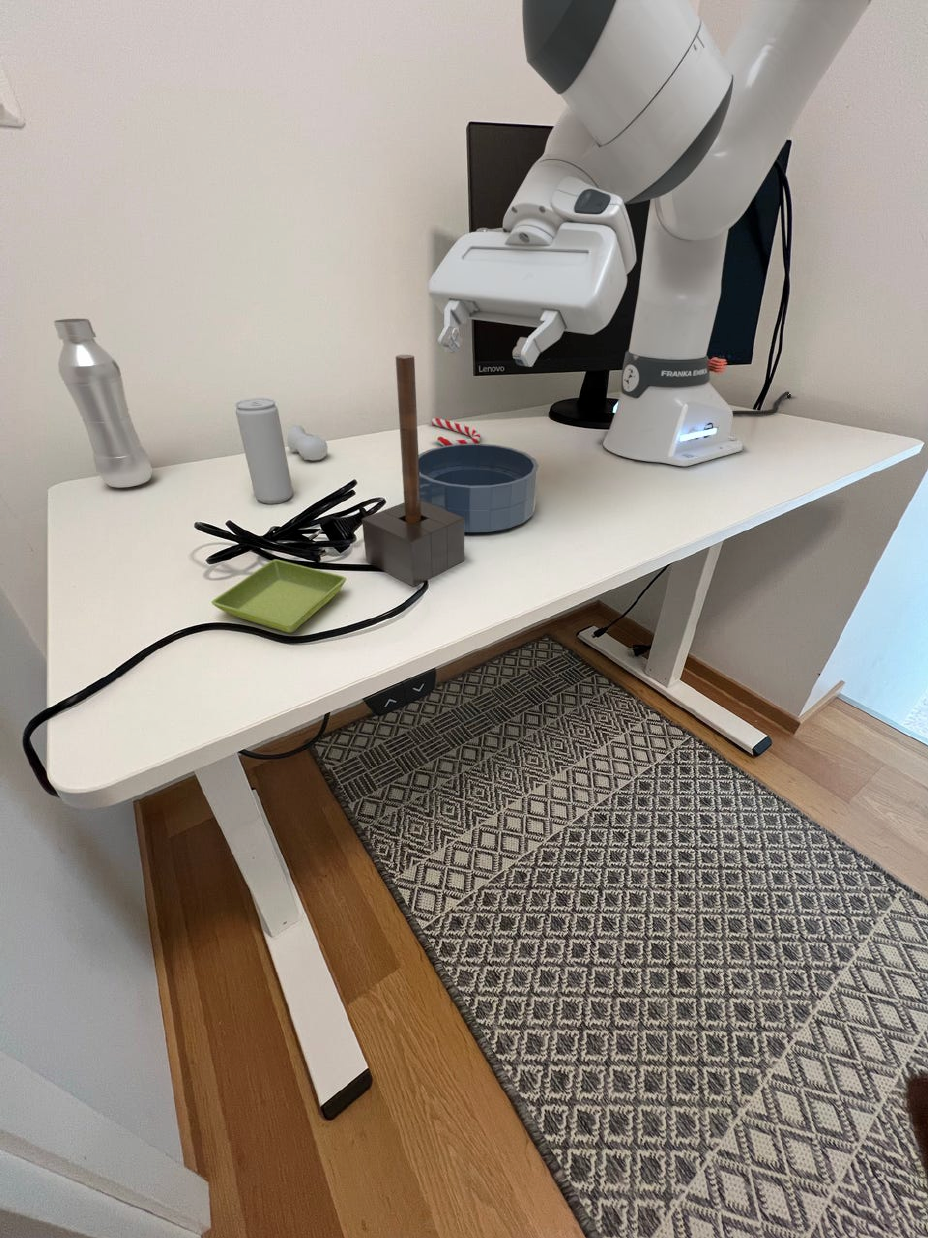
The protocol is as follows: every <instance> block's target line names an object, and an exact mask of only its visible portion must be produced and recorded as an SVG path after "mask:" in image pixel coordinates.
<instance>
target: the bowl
mask: <svg viewBox="0 0 928 1238" xmlns="http://www.w3.org/2000/svg"><path fill="white" fill-rule="evenodd" d="M418 456H419V479H420V500H421V501H424V502H426V503H429V504H431V505H434V506H436V507H439V508H441V509H444V510H446V511H448V512H451V513H453V514H456V515H458V516H461V517H463V518H464V533H489V532H496V531H503V530H508V529H511V528H514V527H516V526H519V525H522V524H523V523H525V522H526V521H528V520H529V519H530V518H532V516H533V515H534V512H535V509H536V503H537V491H538V479H539V468H540V466H539V463H538V462H537V460H536V459H535V457H533V456H531V455H530V454H529V453H527V452H524V451H521V450H519V449H516V448H513V447H508V446H504V445H499V444H487V443H477V444H456V445H447V446H442V445H441V446H437V447H434V448H430V449H427V450H425V451H423V452H421V453H418Z"/></svg>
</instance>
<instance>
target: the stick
mask: <svg viewBox="0 0 928 1238" xmlns="http://www.w3.org/2000/svg"><path fill="white" fill-rule="evenodd" d="M415 364H416V363H415V356H414V355H412V354H398V355H395V370H396V373H395V374H396V389H397V405H398V420H399V436H400V453H401V454H400V455H401V471H402V486H403V500H404V502H403V503H404V504H405V521H406V522H407V523H409V524H411V525H414V524H417V523H419V522H421V502H420V479H419V456H418V455H419V439H418V437H419V434H418V412H417V411H418V410H417V389H416V387H417V385H416V365H415Z"/></svg>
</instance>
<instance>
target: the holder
mask: <svg viewBox="0 0 928 1238" xmlns="http://www.w3.org/2000/svg"><path fill="white" fill-rule="evenodd" d="M420 502H421V522H419V523H417V524H414V525H411V524H409V523H407V522H406V521H405V504H404V502H402V503H399V504H396V505H394V506H391V507H388V508H386V509H384V510H381V511H377V512H376V513H373V514H371V515H368V516H365V517H363V518H361V526H362V534H363V543H364V552H365V561H366V563H368V564H369V565H372V566H374V567H375V568H377V569H378V570H380V571H382V572H385V573H387V574H388V575H390V576H392V577H394V578H396V579H398V580H399V581H401V582H403V583H405V584H407V585H409V586H411V587H413V588H414V587H417V586H419V585H420V584H422V583H424V582H426V581H428V580H430V579H432V578H434V577H436V576H438V575H440V574H441V573H443V572H445V571H447V570H449V569H451V568H453V567H454V566H457V565H458V564H460V563H462V562H464V561H465V532H464V518H463V517H461V516H458V515H456V514H453V513H451V512H448V511H446V510H444V509H441V508H439V507H436V506H434V505H431V504H429V503H426V502H424V501H421V500H420Z"/></svg>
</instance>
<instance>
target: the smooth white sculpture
mask: <svg viewBox="0 0 928 1238" xmlns="http://www.w3.org/2000/svg"><path fill="white" fill-rule="evenodd" d="M286 440H287V447H288V449H289V451H290V452H292V453H295V454H296V453H299V454H300V456H302V457H303V460H304V461H319V460H322V459H324V458H325V457H326V456H327V454H328V450H329V449H328V444H327V441H325V439H323V438H322V437H320V436H318V435H317V434H314V433H310V432H306V431H305V428H304V427H303V426H302V425H300V424H295V425H293V426H292V427H291V428H290V430H289V432H288V435H287V439H286Z"/></svg>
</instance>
